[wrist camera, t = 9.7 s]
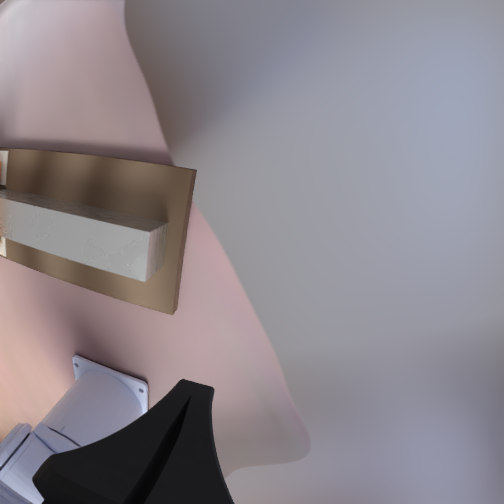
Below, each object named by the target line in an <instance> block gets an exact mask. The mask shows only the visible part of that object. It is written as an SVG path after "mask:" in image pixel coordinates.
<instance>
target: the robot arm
mask: <svg viewBox="0 0 504 504" xmlns="http://www.w3.org/2000/svg"><path fill="white" fill-rule="evenodd" d="M72 361H73V368H74V374H75V380H76V382H75V383H74V384H73V385H72V386H71V388H70V389H69V390H68V391H67V392H66V393H65V394H64V396H63V397H62V398H61V399H60V400H59V401H58V403H57V404H56V405H55V406H54V407H53V408H52V410H51V411H50V412H49V413H48V414H47V415H46V417H45V418H44V419H43V420H42V421H41V422H40V423H39V424H38V425H37V426H36V427H35V428H34V429H33V430H32V431H31V429H32V427H31V425H30V424H29V423H25V424H24V423H18V424H17V425H16V426H15V427H14V428H13V429H12V431H11V432H10V433H9V434H8V435H7V436H6V437H5V438H4V440H3V441H2V442H1V443H0V504H234V502H233V500H232V498H231V495H230V493H229V491H228V488H227V485H226V483H225V480H224V477H223V475H222V471H221V468H220V465H219V461H218V457H217V453H216V448H215V443H214V436H213V428H212V401H213V396H214V388H213V387H211V386H207V385H203V384H199V383H195V382H192V381H188V380H185V379H182V380H180V381H179V382H178V383H177V384H176V385H175V386H174V388H173V389H172V390H171V391H170V392H169V393H168V394H167V395H166V396H165V397H163V398H162V399H161V400H160V401H159V402H158V403H157V404H156V405H154V406H153V407H152V408H151V409H150V410H148V385H147V383H146V382H144V381H142V380H139V379H136V378H134V377H131V376H128V375H125V374H123V373H120V372H117V371H115V370H112V369H109V368H107V367H104V366H102V365H99V364H97V363H94V362H92V361H90V360H87V359H85V358H83V357H80V356H78V355H74V356H73V357H72ZM142 389H143V390H142Z"/></svg>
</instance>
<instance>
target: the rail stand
mask: <svg viewBox="0 0 504 504" xmlns="http://www.w3.org/2000/svg"><path fill="white" fill-rule="evenodd" d="M0 161H1V173H0V256H2V257H4V258H7V259H9V260H12V261H14V262H17V263H19V264H22V265H24V266H27V267H29V268H32V269H34V270H37V271H39V272H42V273H45V274H47V275H50V276H53V277H55V278H58V279H61V280H64V281H66V282H69V283H72V284H75V285H78V286H80V287H83V288H86V289H89V290H92V291H95V292H98V293H101V294H104V295H107V296H110V297H113V298H117V299H120V300H123V301H126V302H129V303H133V304H136V305H139V306H142V307H146V308H149V309H153V310H156V311H160V312H163V313H167V314H170V315H173V314H174V312H175V311H176V310H177V304H178V295H179V286H180V278H181V270H182V262H183V255H184V248H185V241H186V234H187V227H188V220H189V214H190V208H191V202H192V195H193V190H194V183H195V178H196V172H197V170H194V169H188V168H182V167H176V166H170V165H164V164H157V163H151V162H144V161H137V160H129V159H122V158H114V157H106V156H97V155H89V154H79V153H69V152H58V151H47V150H34V149H19V148H0Z"/></svg>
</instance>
